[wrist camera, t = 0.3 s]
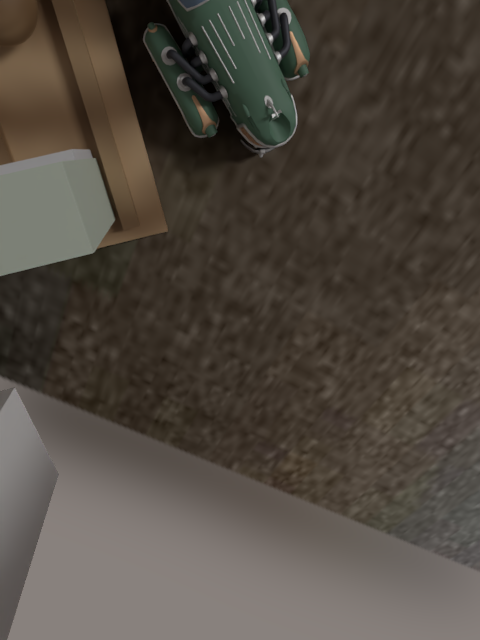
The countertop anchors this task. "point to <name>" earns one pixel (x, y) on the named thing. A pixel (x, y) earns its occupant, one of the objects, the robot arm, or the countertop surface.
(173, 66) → the hoverbike
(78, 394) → the countertop surface
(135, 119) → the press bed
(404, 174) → the countertop surface
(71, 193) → the block
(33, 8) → the walnut
